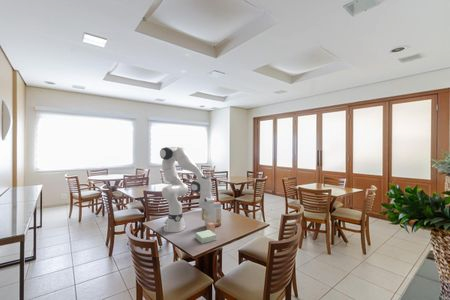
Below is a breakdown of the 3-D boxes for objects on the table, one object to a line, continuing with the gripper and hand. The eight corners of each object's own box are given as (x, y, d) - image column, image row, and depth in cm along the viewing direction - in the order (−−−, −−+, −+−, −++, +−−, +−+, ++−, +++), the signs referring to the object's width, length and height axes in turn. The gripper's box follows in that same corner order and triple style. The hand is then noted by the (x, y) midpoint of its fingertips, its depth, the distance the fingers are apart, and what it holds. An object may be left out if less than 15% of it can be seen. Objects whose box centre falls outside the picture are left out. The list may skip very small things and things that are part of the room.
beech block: (201, 219, 169) (201, 208, 168) (207, 218, 171) (207, 207, 171) (204, 220, 164) (204, 210, 164) (210, 219, 167) (210, 209, 167)
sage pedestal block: (195, 237, 170) (195, 232, 170) (209, 234, 176) (209, 229, 176) (202, 243, 160) (202, 238, 160) (216, 240, 166) (216, 234, 166)
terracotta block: (206, 231, 182) (206, 223, 182) (210, 230, 186) (210, 221, 186) (210, 233, 179) (210, 224, 179) (214, 231, 183) (214, 223, 182)
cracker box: (219, 223, 201) (219, 201, 201) (221, 225, 196) (221, 203, 195) (204, 225, 196) (204, 202, 196) (206, 227, 191) (206, 204, 191)
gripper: (196, 195, 175) (196, 212, 175) (208, 200, 157) (208, 219, 157) (203, 194, 178) (203, 211, 178) (215, 199, 161) (215, 218, 161)
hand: (206, 215), depth 168 cm, fingers closed on beech block, 5 cm apart
